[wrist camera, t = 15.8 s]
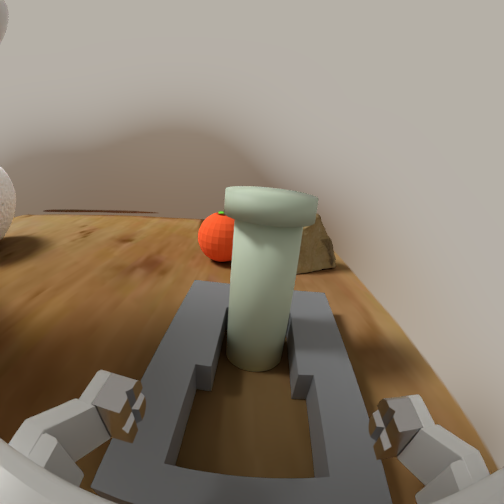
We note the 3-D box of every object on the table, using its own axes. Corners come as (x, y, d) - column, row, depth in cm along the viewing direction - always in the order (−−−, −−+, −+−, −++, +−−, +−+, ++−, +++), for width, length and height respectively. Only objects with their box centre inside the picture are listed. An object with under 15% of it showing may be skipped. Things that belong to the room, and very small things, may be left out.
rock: (337, 246, 44) (281, 230, 45) (353, 214, 37) (289, 194, 39) (326, 303, 39) (263, 284, 40) (345, 276, 32) (268, 253, 33)
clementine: (197, 249, 43) (199, 204, 41) (240, 250, 45) (244, 206, 43) (197, 269, 36) (198, 215, 34) (249, 270, 37) (254, 218, 35)
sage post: (204, 344, 22) (208, 186, 18) (259, 325, 25) (275, 186, 21) (245, 389, 17) (266, 201, 13) (304, 359, 21) (336, 201, 17)
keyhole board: (371, 524, 7) (394, 510, 6) (106, 502, 7) (90, 486, 7) (319, 313, 28) (324, 292, 27) (194, 300, 28) (194, 280, 27)
